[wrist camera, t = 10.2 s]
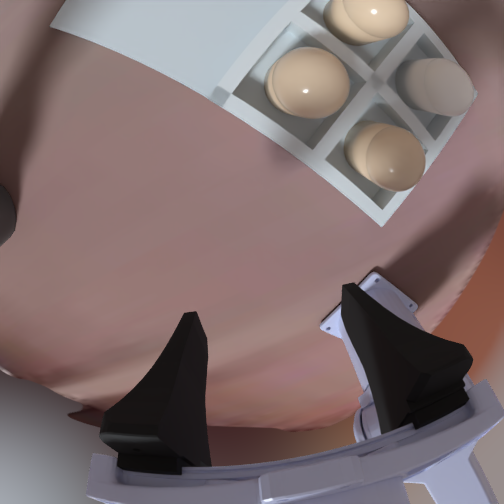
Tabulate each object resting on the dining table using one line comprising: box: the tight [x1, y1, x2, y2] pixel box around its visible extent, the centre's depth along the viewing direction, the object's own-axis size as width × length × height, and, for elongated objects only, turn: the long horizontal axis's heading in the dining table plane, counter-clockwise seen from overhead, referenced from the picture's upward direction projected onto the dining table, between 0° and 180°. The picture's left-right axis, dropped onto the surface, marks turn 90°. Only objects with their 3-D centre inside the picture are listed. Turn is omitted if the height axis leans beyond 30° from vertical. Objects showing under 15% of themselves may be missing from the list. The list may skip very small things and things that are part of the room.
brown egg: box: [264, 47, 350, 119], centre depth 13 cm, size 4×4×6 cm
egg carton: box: [49, 0, 478, 227], centre depth 12 cm, size 30×15×2 cm, turn 55°
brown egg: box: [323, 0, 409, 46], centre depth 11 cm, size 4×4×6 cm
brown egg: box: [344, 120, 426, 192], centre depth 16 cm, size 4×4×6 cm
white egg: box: [395, 58, 474, 116], centre depth 13 cm, size 4×4×6 cm
